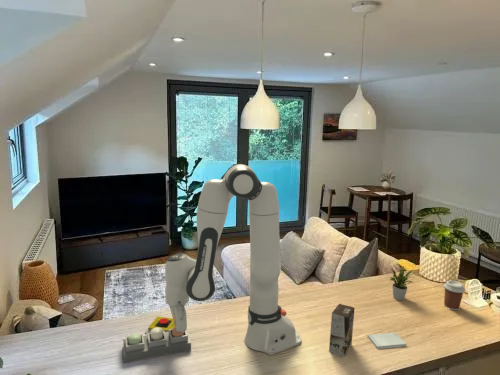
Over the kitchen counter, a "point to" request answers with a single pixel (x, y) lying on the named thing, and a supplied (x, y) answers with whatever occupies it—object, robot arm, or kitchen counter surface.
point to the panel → (155, 346)
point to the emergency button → (161, 324)
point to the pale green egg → (134, 339)
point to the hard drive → (386, 340)
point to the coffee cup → (453, 294)
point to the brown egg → (176, 333)
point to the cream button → (156, 334)
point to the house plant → (400, 283)
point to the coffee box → (341, 329)
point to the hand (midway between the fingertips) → (177, 329)
